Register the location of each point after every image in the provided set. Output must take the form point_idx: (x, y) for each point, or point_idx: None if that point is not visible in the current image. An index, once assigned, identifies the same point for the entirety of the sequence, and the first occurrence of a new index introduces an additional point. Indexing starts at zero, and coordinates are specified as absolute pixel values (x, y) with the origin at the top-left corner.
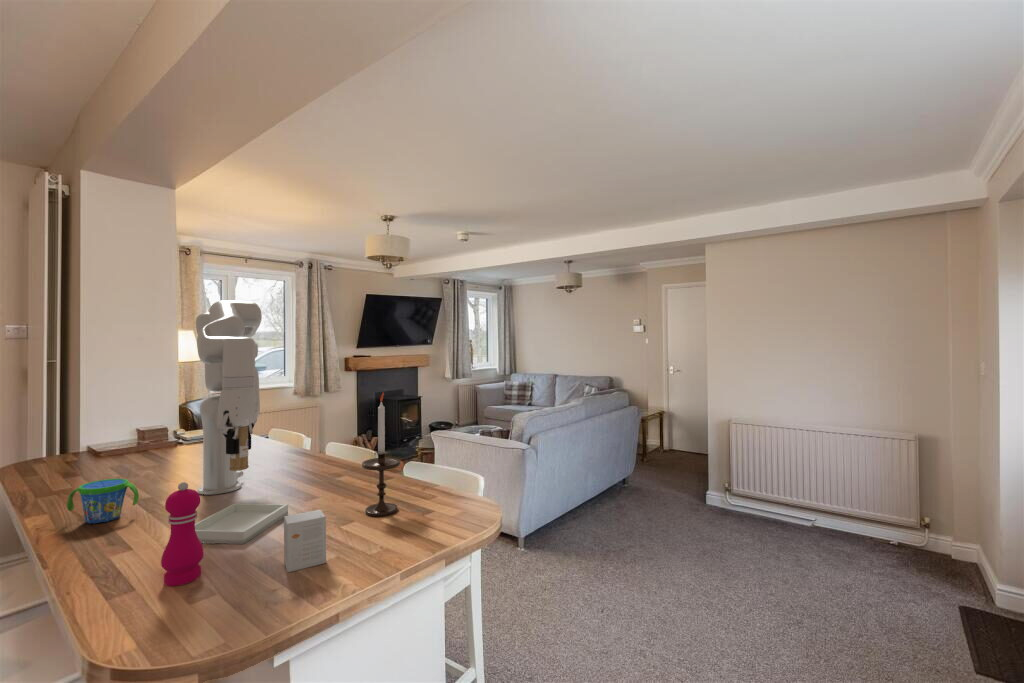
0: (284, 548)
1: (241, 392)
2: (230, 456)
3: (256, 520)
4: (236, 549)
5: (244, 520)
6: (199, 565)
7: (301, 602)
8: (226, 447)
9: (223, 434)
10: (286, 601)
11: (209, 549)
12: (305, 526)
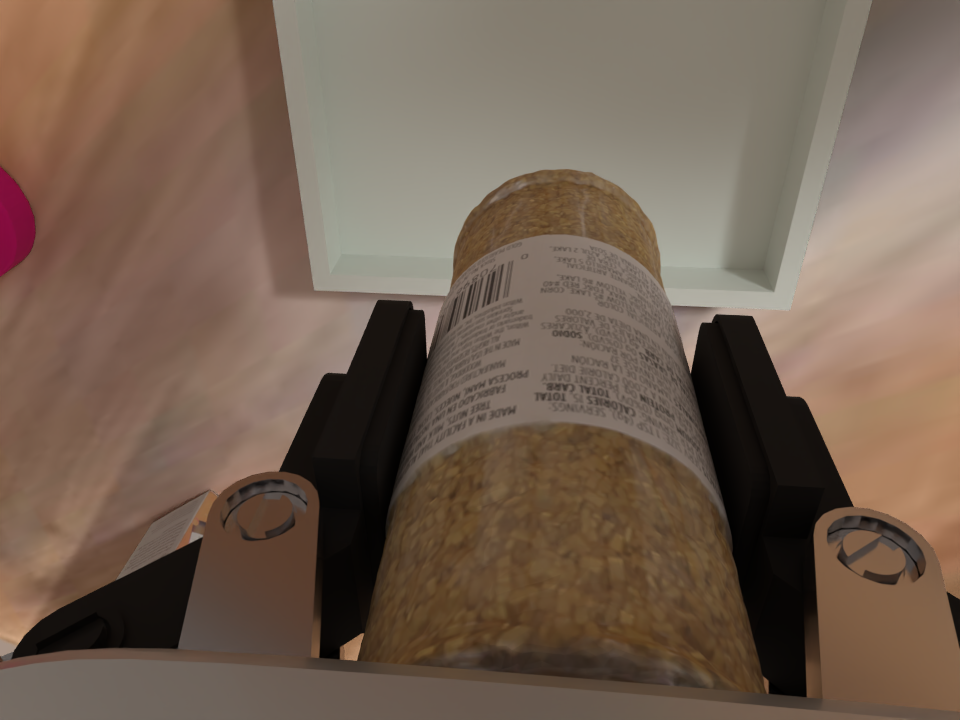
0: (165, 543)
1: None
2: (448, 299)
3: (617, 176)
4: (272, 257)
5: (620, 93)
6: (2, 266)
7: (31, 601)
8: (357, 358)
9: (79, 604)
10: (19, 572)
11: (241, 117)
12: None
